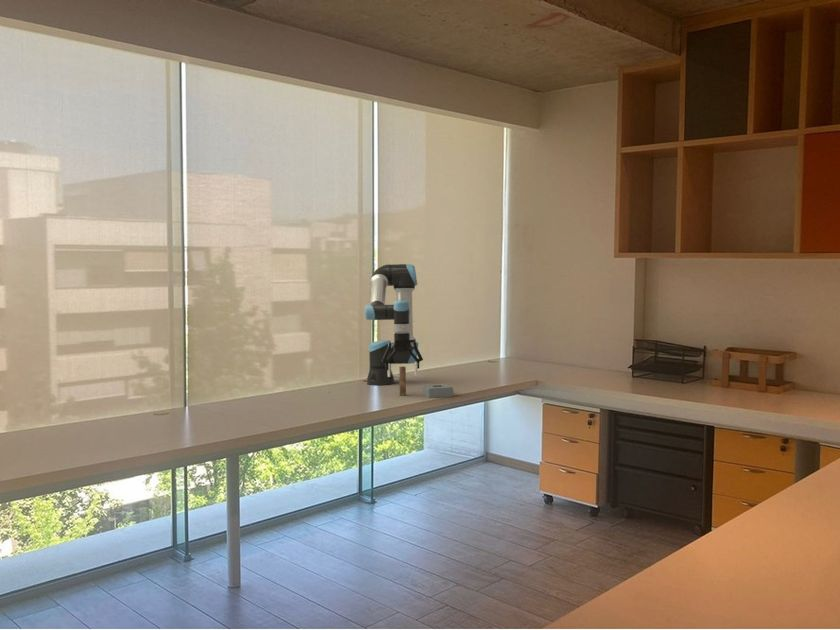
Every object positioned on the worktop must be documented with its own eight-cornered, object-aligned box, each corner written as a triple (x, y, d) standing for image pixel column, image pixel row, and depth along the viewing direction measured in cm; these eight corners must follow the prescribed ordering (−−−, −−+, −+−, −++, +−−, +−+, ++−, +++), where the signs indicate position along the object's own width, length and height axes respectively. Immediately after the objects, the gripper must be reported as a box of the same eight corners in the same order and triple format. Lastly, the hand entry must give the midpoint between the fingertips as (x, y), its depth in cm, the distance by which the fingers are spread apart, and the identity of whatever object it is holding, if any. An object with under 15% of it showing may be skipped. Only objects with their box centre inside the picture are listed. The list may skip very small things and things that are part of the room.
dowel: (399, 395, 372) (398, 366, 371) (405, 394, 372) (404, 366, 372) (400, 395, 369) (400, 367, 368) (406, 395, 369) (406, 367, 369)
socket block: (422, 394, 373) (422, 385, 373) (446, 392, 376) (445, 383, 376) (429, 397, 361) (428, 388, 361) (453, 396, 364) (453, 387, 364)
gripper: (378, 333, 362) (379, 378, 363) (428, 332, 368) (429, 375, 369) (375, 333, 369) (376, 376, 370) (424, 331, 376) (425, 374, 376)
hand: (402, 376), depth 370 cm, fingers open, 13 cm apart
